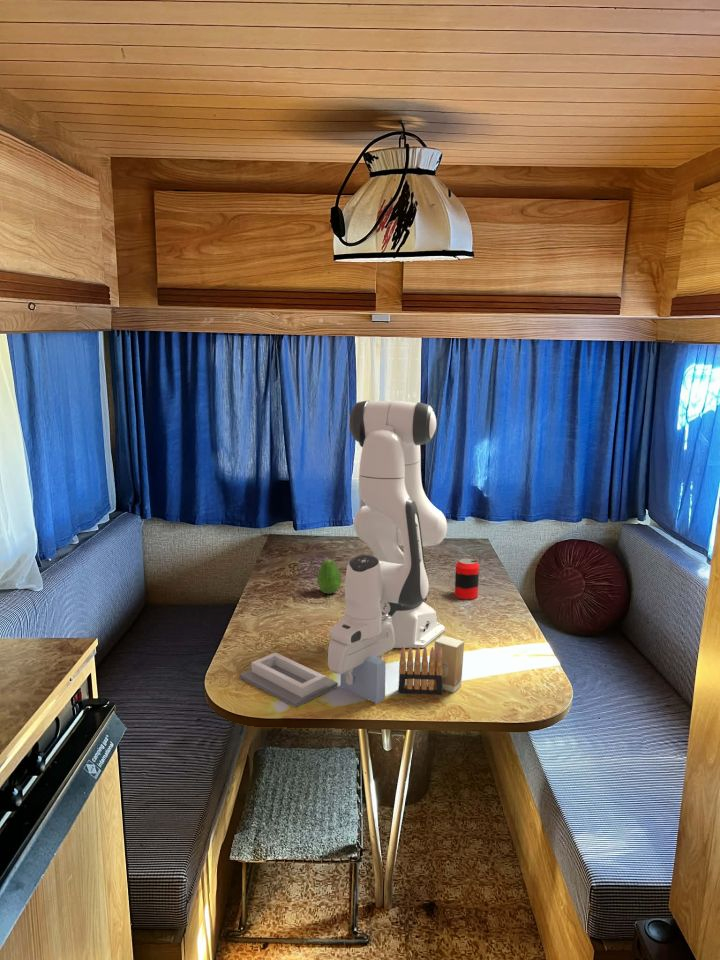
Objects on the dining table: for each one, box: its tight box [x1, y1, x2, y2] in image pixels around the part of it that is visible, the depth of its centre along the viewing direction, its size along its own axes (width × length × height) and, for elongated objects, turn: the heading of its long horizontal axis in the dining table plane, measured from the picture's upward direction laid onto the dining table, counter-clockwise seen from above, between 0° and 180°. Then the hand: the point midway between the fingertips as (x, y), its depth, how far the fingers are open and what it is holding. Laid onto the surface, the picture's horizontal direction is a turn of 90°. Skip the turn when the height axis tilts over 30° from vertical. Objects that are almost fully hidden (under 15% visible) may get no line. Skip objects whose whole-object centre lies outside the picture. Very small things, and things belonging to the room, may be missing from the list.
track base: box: [239, 652, 339, 708], centre depth 181 cm, size 14×21×4 cm, turn 47°
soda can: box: [454, 558, 480, 600], centre depth 239 cm, size 8×8×12 cm
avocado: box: [317, 558, 342, 595], centre depth 240 cm, size 8×8×12 cm
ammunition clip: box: [397, 646, 443, 696], centre depth 176 cm, size 11×2×12 cm, turn 86°
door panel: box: [339, 655, 386, 705], centre depth 175 cm, size 3×12×10 cm, turn 47°
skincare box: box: [433, 634, 465, 693], centre depth 179 cm, size 6×4×12 cm
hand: (362, 677), depth 176 cm, fingers open, 7 cm apart
